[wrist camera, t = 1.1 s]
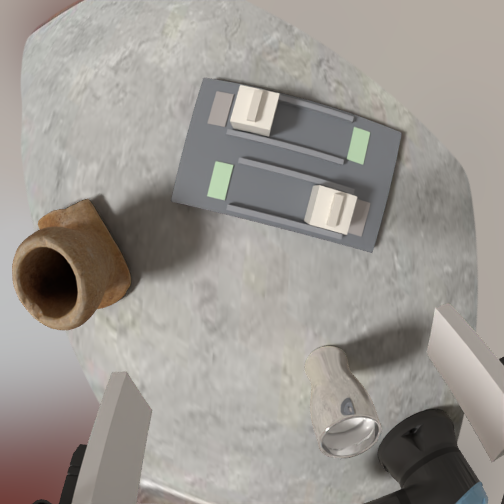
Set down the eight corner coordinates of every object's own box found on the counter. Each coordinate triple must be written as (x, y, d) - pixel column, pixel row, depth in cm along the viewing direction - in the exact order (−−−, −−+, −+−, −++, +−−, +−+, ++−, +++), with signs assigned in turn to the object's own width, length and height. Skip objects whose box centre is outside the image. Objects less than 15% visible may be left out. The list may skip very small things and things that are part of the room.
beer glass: (291, 360, 40) (303, 437, 25) (335, 333, 39) (368, 402, 24) (316, 391, 41) (335, 468, 26) (358, 367, 40) (392, 437, 25)
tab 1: (277, 104, 32) (280, 91, 27) (268, 136, 32) (270, 128, 28) (242, 96, 31) (239, 82, 27) (233, 128, 32) (229, 119, 28)
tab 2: (346, 195, 33) (359, 196, 29) (337, 229, 34) (349, 236, 29) (313, 185, 33) (321, 185, 29) (303, 220, 34) (310, 225, 29)
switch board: (395, 135, 34) (405, 131, 31) (366, 249, 37) (375, 254, 34) (206, 83, 33) (202, 74, 30) (175, 200, 36) (168, 201, 33)
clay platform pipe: (156, 278, 38) (103, 326, 23) (93, 313, 40) (33, 363, 25) (102, 175, 36) (27, 173, 21) (45, 221, 37) (-29, 238, 22)
